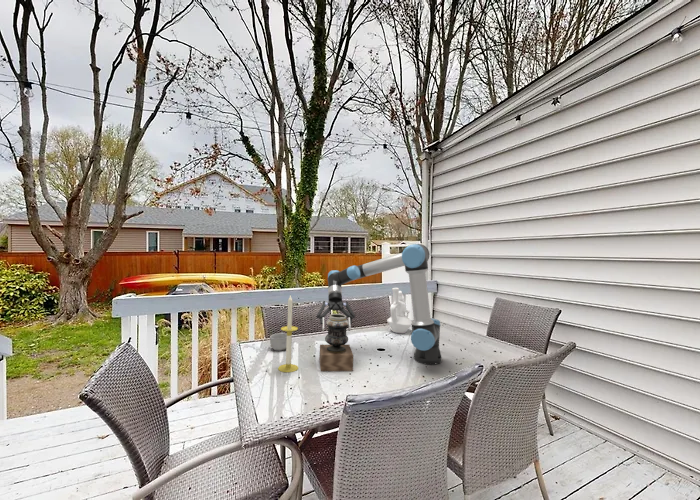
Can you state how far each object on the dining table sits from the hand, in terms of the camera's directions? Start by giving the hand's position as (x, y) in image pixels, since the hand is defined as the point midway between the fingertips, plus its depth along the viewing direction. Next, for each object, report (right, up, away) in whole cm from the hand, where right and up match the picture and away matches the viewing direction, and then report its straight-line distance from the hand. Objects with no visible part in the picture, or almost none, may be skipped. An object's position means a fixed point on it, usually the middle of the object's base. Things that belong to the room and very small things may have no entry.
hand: (336, 329), depth 178 cm
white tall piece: (+40, -17, +65) cm, 79 cm away
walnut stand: (-1, -19, +2) cm, 19 cm away
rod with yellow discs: (-24, -18, -5) cm, 31 cm away
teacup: (-34, -16, +23) cm, 44 cm away
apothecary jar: (0, -11, +1) cm, 11 cm away
